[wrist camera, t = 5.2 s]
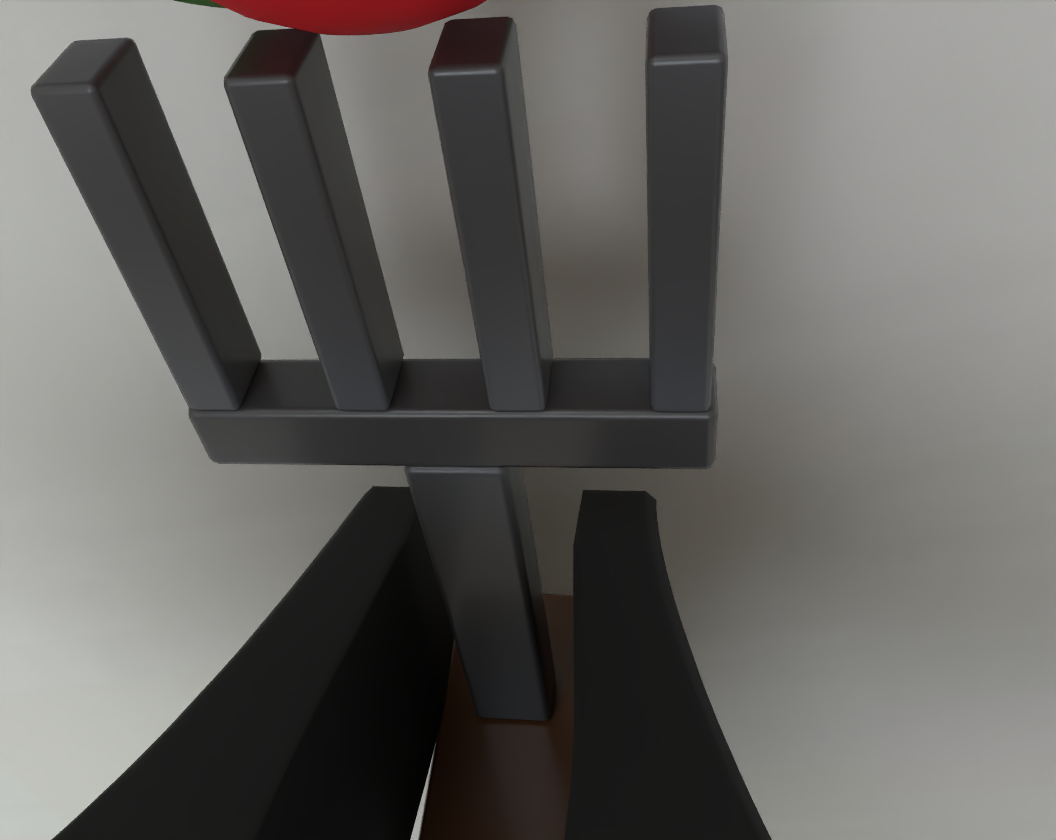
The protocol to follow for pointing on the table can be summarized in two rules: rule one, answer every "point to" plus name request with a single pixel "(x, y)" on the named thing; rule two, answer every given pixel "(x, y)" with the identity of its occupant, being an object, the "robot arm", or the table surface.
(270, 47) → the fork
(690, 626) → the table surface
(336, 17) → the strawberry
